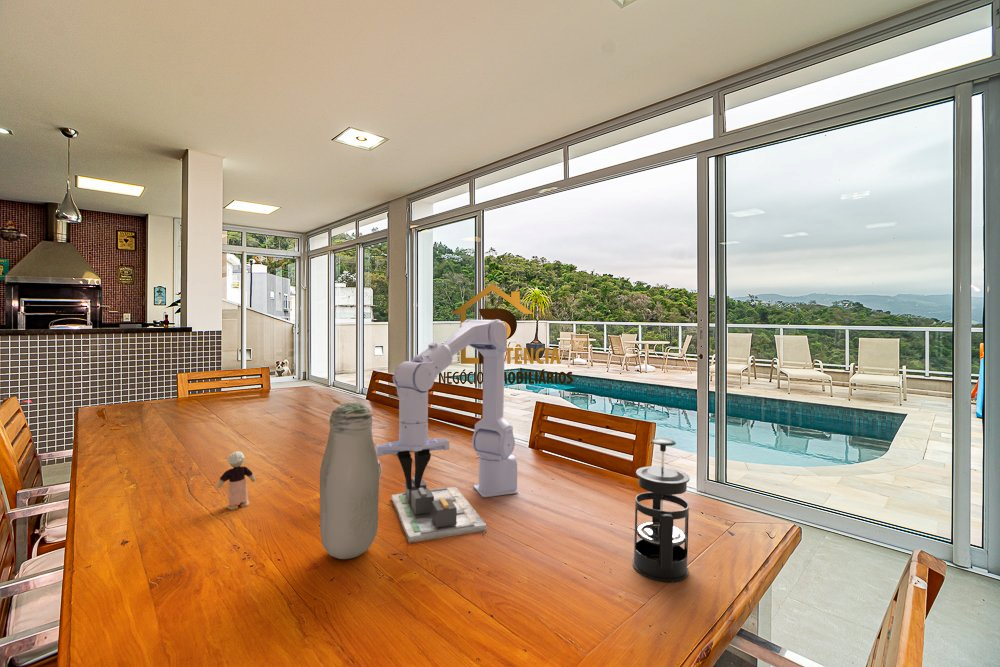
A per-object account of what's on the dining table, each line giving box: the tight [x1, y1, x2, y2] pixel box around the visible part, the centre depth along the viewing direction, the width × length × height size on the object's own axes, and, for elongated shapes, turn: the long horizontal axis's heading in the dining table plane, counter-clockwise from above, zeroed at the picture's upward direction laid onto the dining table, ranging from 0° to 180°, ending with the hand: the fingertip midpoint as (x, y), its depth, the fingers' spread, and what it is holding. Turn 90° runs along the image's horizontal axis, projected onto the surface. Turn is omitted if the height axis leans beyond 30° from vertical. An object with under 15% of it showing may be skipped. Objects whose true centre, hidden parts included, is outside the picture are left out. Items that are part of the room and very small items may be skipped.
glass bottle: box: [319, 402, 380, 560], centre depth 86 cm, size 10×10×28 cm
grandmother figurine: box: [216, 450, 257, 511], centre depth 107 cm, size 8×4×13 cm, turn 145°
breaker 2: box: [411, 488, 434, 515], centre depth 104 cm, size 4×5×4 cm
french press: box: [632, 437, 691, 583], centre depth 82 cm, size 12×9×23 cm
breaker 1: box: [404, 476, 427, 502], centre depth 111 cm, size 4×5×4 cm
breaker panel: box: [391, 486, 487, 544], centre depth 105 cm, size 16×23×2 cm
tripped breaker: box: [432, 498, 457, 528], centre depth 98 cm, size 4×5×4 cm
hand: (413, 487), depth 95 cm, fingers closed
